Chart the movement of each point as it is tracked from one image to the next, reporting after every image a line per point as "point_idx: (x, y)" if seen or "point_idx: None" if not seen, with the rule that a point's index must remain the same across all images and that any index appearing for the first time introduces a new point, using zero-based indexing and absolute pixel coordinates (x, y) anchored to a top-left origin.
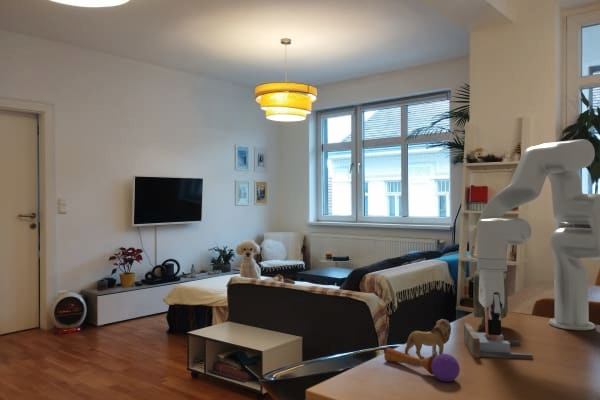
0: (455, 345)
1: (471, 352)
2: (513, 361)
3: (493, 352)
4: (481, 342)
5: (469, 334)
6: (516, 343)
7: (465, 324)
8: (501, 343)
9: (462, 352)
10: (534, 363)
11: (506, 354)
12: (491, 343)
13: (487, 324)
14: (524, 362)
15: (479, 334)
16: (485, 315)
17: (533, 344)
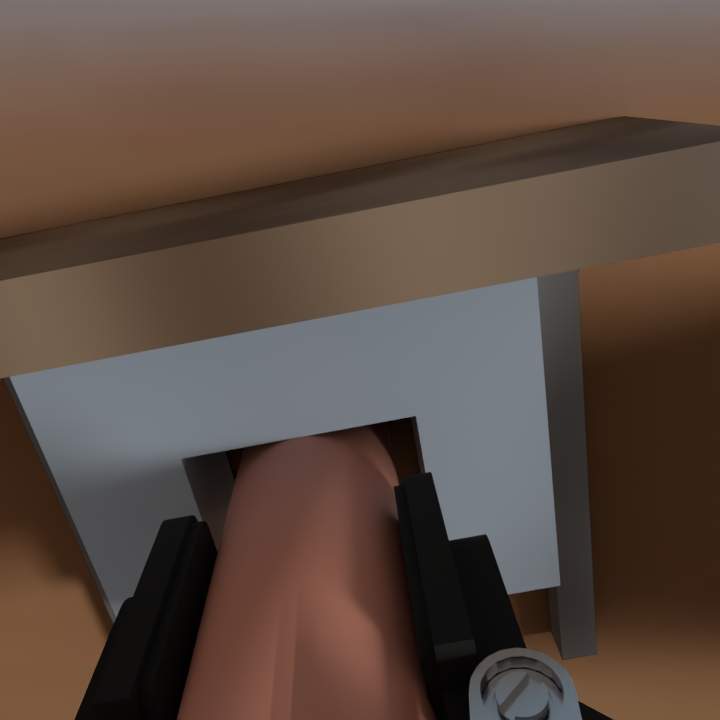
0: (346, 9)
1: (32, 234)
2: (23, 583)
3: None
4: (17, 394)
5: (104, 252)
6: (555, 623)
7: (649, 170)
8: (106, 589)
9: (61, 120)
10: (60, 703)
11: (88, 560)
12: (65, 496)
13: (227, 594)
14: (45, 649)
15: (433, 361)
16: (271, 698)
17: (611, 712)
